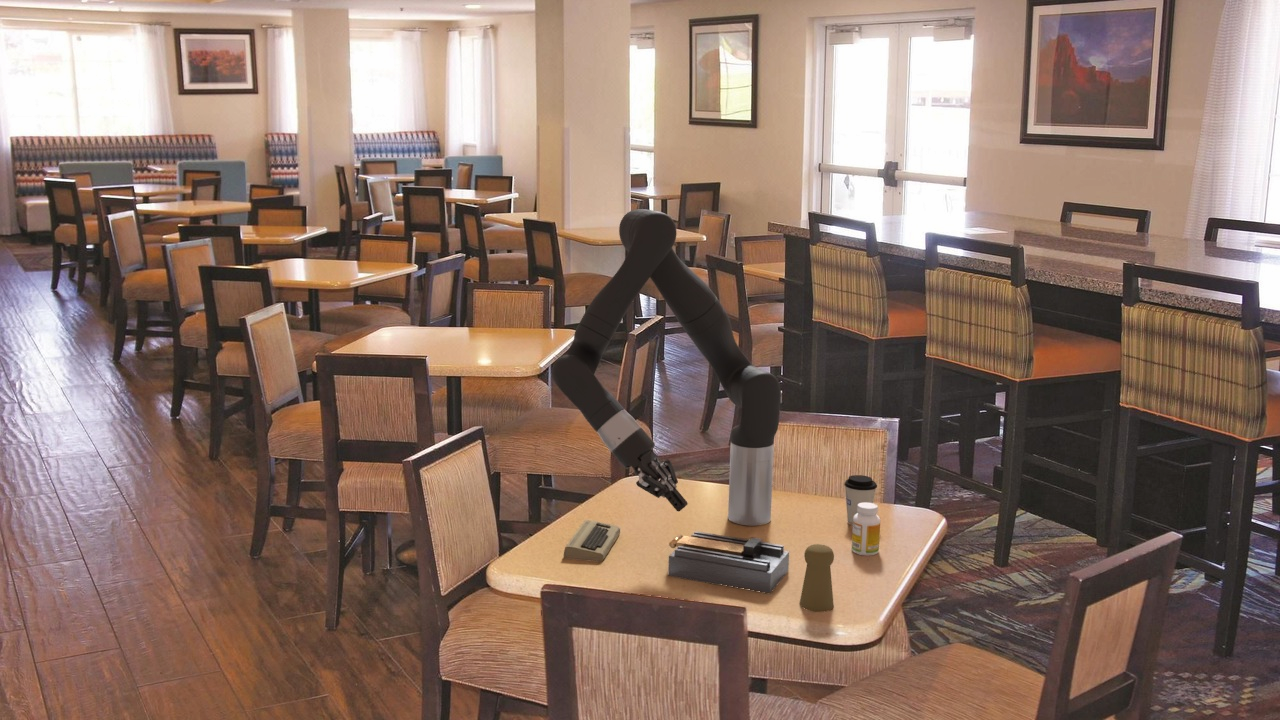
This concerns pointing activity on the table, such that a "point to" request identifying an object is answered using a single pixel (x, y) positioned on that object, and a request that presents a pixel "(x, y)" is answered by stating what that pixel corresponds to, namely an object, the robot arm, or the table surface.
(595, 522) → the computer
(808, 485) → the table surface
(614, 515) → the table surface
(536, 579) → the table surface
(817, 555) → the olive pawn
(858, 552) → the supplement bottle
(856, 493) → the coffee cup
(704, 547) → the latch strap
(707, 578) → the grey slider box
